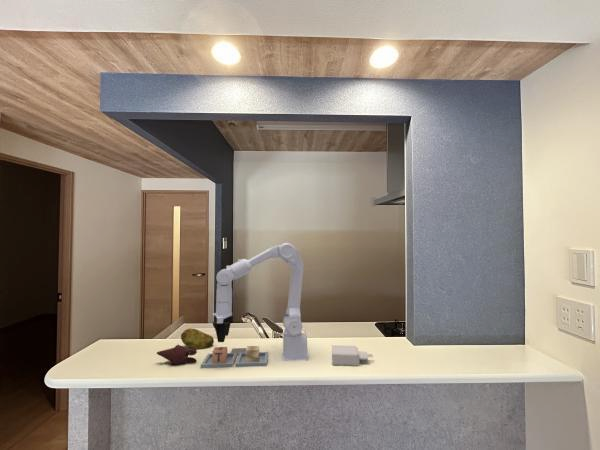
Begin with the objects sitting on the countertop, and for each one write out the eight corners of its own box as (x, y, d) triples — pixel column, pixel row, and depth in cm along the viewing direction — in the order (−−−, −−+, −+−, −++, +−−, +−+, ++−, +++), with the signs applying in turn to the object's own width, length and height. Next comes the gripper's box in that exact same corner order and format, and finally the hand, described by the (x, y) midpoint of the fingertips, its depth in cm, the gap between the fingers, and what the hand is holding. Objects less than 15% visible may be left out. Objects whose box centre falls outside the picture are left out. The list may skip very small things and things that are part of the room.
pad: (249, 349, 119) (249, 347, 119) (247, 355, 112) (247, 353, 112) (232, 349, 119) (232, 348, 119) (229, 356, 112) (229, 354, 112)
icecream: (150, 350, 101) (192, 354, 100) (162, 338, 108) (200, 342, 107) (151, 367, 102) (192, 372, 101) (162, 355, 109) (200, 359, 108)
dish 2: (268, 355, 112) (268, 351, 112) (266, 367, 101) (266, 362, 101) (239, 356, 111) (239, 352, 111) (235, 368, 100) (235, 363, 100)
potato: (207, 352, 116) (207, 332, 117) (177, 351, 118) (178, 331, 119) (215, 345, 125) (215, 326, 125) (187, 344, 126) (188, 325, 127)
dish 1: (237, 356, 111) (237, 352, 111) (232, 368, 100) (232, 363, 100) (208, 357, 110) (208, 353, 110) (200, 369, 99) (200, 364, 99)
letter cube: (227, 359, 108) (227, 346, 108) (224, 363, 103) (225, 350, 104) (214, 359, 107) (215, 346, 108) (212, 364, 103) (212, 351, 103)
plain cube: (259, 358, 109) (259, 345, 109) (258, 362, 104) (258, 349, 104) (247, 358, 108) (247, 346, 109) (245, 363, 104) (245, 350, 104)
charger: (375, 367, 101) (332, 366, 102) (371, 358, 110) (332, 356, 111) (374, 353, 101) (332, 352, 103) (370, 345, 110) (331, 344, 112)
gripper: (217, 298, 114) (216, 333, 113) (208, 305, 100) (207, 345, 99) (235, 298, 115) (234, 332, 113) (229, 304, 100) (228, 344, 99)
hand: (223, 338), depth 106 cm, fingers open, 7 cm apart
